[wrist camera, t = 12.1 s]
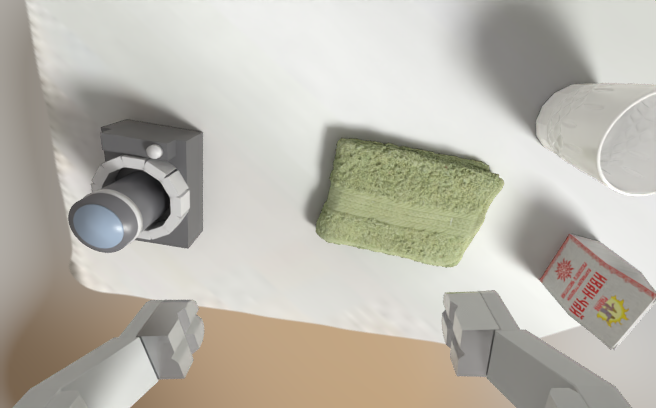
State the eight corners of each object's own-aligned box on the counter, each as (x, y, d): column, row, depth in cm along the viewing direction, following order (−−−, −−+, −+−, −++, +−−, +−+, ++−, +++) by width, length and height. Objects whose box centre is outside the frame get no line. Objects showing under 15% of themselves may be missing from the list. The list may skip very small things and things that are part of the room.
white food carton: (599, 241, 38) (679, 300, 29) (567, 287, 41) (630, 354, 32) (569, 233, 38) (640, 291, 29) (539, 280, 41) (595, 346, 32)
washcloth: (454, 263, 41) (463, 280, 38) (313, 232, 40) (311, 246, 37) (502, 163, 35) (516, 174, 32) (340, 124, 34) (339, 131, 32)
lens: (126, 217, 35) (76, 253, 28) (113, 170, 33) (57, 197, 26) (175, 218, 35) (136, 255, 28) (165, 171, 33) (121, 198, 26)
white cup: (526, 90, 32) (598, 105, 23) (617, 65, 31) (731, 70, 21) (530, 166, 35) (595, 206, 26) (613, 146, 34) (712, 181, 24)
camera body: (124, 118, 35) (81, 131, 29) (205, 132, 35) (177, 147, 29) (134, 219, 40) (99, 247, 34) (204, 231, 40) (181, 260, 34)
